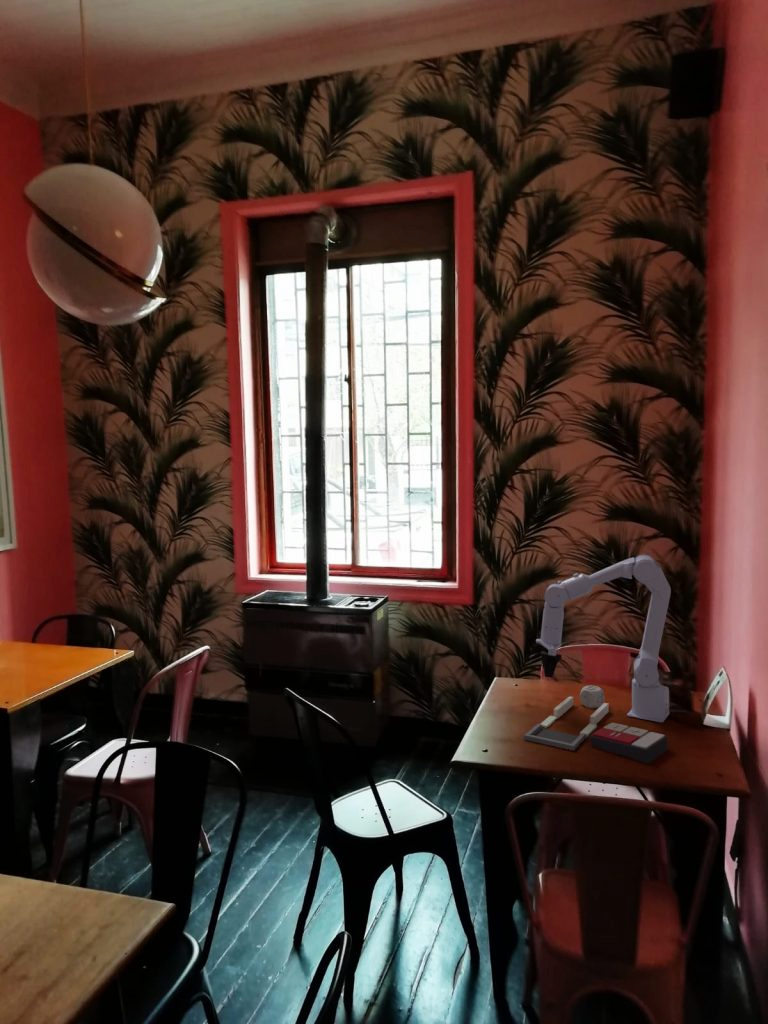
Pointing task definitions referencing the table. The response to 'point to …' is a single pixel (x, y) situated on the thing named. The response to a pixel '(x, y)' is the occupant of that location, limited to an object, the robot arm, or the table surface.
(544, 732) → the tray
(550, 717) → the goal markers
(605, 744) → the calculator
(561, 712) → the white guide rails
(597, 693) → the die
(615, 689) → the table surface
